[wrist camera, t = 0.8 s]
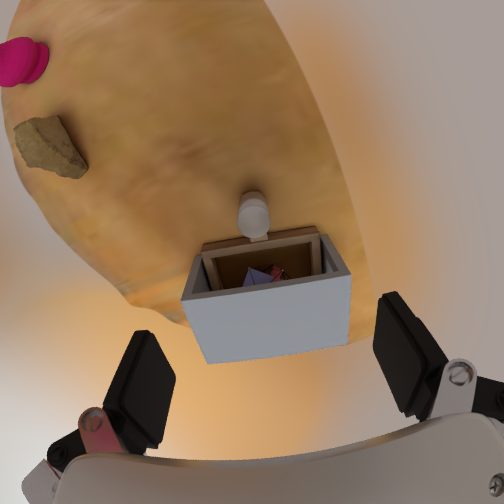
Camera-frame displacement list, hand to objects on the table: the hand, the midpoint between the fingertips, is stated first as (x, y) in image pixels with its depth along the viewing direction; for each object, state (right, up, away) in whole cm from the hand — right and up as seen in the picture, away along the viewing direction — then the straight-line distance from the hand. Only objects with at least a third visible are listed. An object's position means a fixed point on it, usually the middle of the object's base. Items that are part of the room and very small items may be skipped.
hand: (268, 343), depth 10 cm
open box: (+1, 0, +26) cm, 26 cm away
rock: (-25, +17, +17) cm, 35 cm away
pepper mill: (-31, +30, +10) cm, 44 cm away
